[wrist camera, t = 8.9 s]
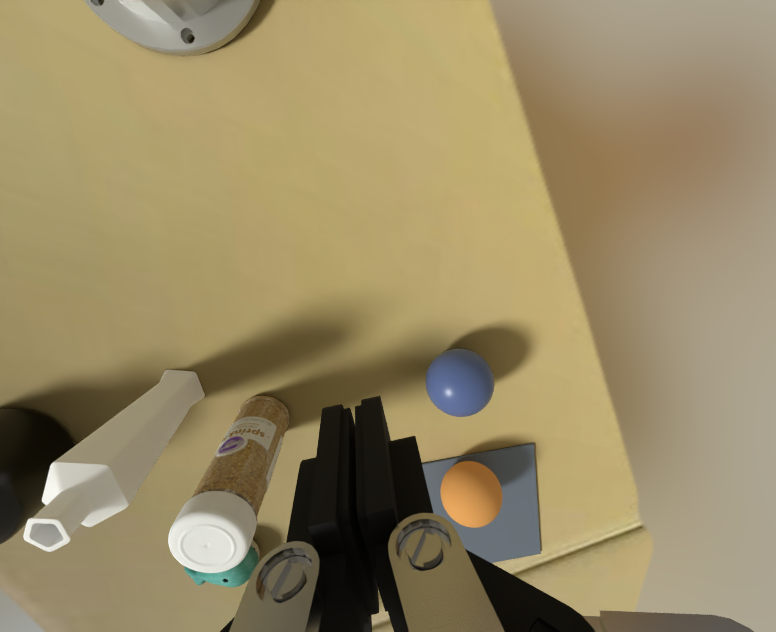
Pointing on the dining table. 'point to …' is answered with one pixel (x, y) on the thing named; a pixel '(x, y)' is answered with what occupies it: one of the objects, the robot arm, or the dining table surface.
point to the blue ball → (459, 382)
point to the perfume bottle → (111, 462)
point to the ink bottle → (26, 464)
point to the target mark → (518, 510)
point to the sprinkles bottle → (231, 490)
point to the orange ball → (471, 494)
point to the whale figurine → (230, 571)
